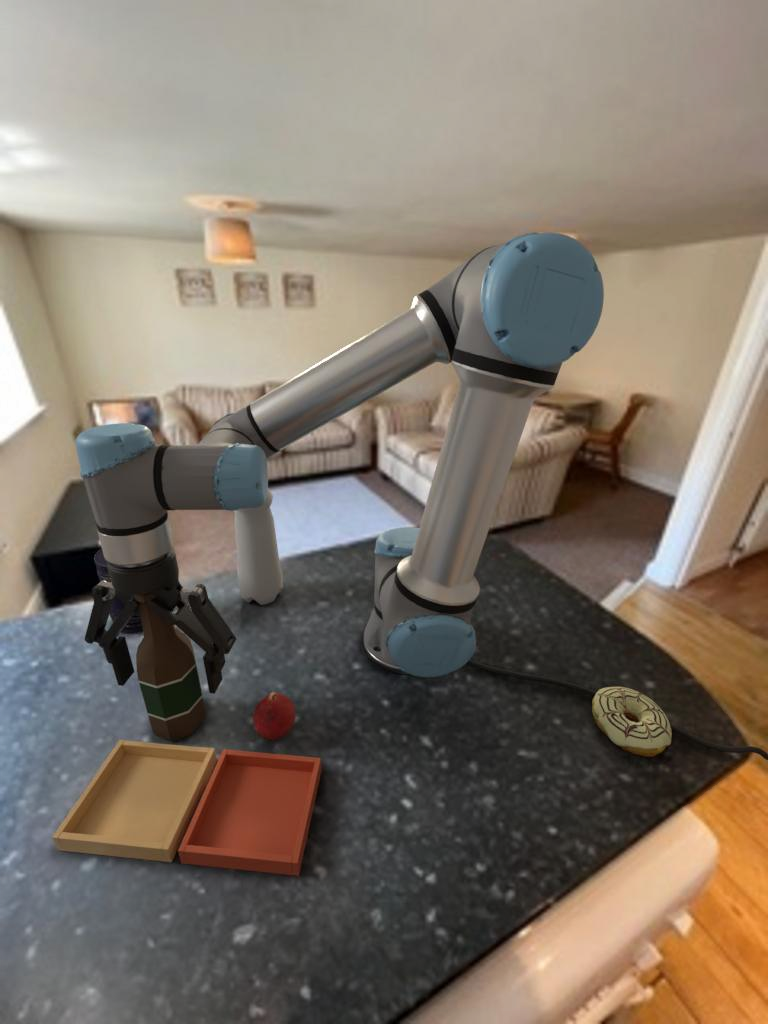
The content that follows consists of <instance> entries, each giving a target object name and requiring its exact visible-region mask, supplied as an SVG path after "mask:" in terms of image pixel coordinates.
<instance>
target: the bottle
mask: <svg viewBox="0 0 768 1024" xmlns="http://www.w3.org/2000/svg"><path fill="white" fill-rule="evenodd" d="M273 498H274V495H273V492H272V491H271V489H270V488H269V487H268V489H267V498H266V501H265V502H264V504H263V505H262V506H260V507H257V508H247V509H239V510H234V520H233V521H234V535H235V549H236V559H237V571H236V577H237V582H238V583H237V584H238V590H239V596H240V597H241V598H242V599H243V600H244V601H245V602H246V603H248V604H250V603H251V602H252V601H255V602H256V603H258V604H259V605H260V606H264V605H269V604H271V603H272V602H275V600H276V599H277V596H278V594H280V593H281V592H282V590H283V589H284V581H283V569H282V566H281V561H280V555H279V548H278V542H277V541H278V539H277V534H276V527H275V519H274V516H273V513H272V509H271V505H272V503H273Z"/></svg>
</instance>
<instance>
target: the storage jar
mask: <svg viewBox="0 0 768 1024" xmlns="http://www.w3.org/2000/svg"><path fill="white" fill-rule="evenodd" d="M93 560H94V564H95V567H96V574H97V576H98V579H99V583H100V582H101V581H102V580H103V579H104V578H106V577H108V578H110V575H109V571H108V568H107V560H106V559H105V557H104V555H103V551H102V548H100V549H99V550H98V551H97V552H96V553H95V554H94V557H93ZM124 607H125V604H124V603H123V602H122V601H121V600H119V599H118V598H117V596H116V595H115V596H114V599H113V603H112V606H111V610H110V613H109V618H110V619H111V621H112V624H113V623H114V621H115V620H116V619H117V617H118V615H119V614H120V613H121V611H122V610H123V609H124ZM141 633H142V634H143V628H142V622H141V618H139V616H138V615H136V614H134V615H133V616H132V618H131V619H130V620H129V621H128V623H127V624H126V625H125V627H124V628H123V629H122V631H121V633H120V634H125V635H135V634H141Z"/></svg>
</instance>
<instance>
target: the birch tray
mask: <svg viewBox="0 0 768 1024" xmlns="http://www.w3.org/2000/svg"><path fill="white" fill-rule="evenodd" d="M217 762H218V757H217V752H216V748H214V747H203V746H193V745H181V744H170V743H169V744H168V743H158V742H149V741H148V742H147V741H136V740H126V739H125V740H124V739H119V740H118V741H117V743H116V744H115V746H114V747H113V749H112V750H111V751H110V753H109V755H108V756H107V758H106V759H105V760H104V761H103V763H102V765H101V766H100V768H99V769H98V770H97V772H96V774H95V775H94V776H93V778H92V779H91V780H90V782H89V784H88V785H87V786H86V787H85V789H84V791H83V792H82V794H81V795H80V797H79V798H78V799H77V801H76V802H75V803H74V805H73V807H72V808H71V809H70V811H69V812H68V813H67V816H66V817H65V818H64V820H62V822H61V824H60V826H59V827H58V829H57V830H56V831H55V833H54V834H53V836H52V837H51V838H52V841H53V842H54V844H55V846H56V848H57V851H62V852H70V853H81V854H90V855H98V856H99V855H100V856H108V857H119V858H128V859H137V860H145V861H155V862H165V863H172V862H173V860H174V858H175V856H176V854H177V852H178V849H179V847H180V845H181V843H182V840H183V838H184V836H185V834H186V832H187V829H188V827H189V825H190V823H191V820H192V818H193V816H194V814H195V811H196V809H197V807H198V805H199V802H200V800H201V798H202V796H203V793H204V791H205V789H206V787H207V784H208V782H209V780H210V778H211V775H212V773H213V771H214V769H215V766H216V764H217Z"/></svg>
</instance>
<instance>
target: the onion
mask: <svg viewBox="0 0 768 1024" xmlns="http://www.w3.org/2000/svg"><path fill="white" fill-rule="evenodd" d="M295 721H296V708H295V705H294V703H293V702H292V701H291V699H290V698H289V697H287V696H286V695H284V694H281V693H278V692H277V691H272V692H269V694H268V695H266V696H264V697H263V698H262V699H260V700H259V702H258V703H257V705H256V706H255V708H254V711H253V717H252V722H253V723H252V724H254V728H255V732H256V733H257V734H258V735H259V736H260V737H261V738H263V739H264V740H268V741H274V740H279V739H281V738H282V737H284V736H286V735H287V734H288V733H289V732H290V731H291V730H292V729H293V726H294V723H295Z"/></svg>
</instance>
